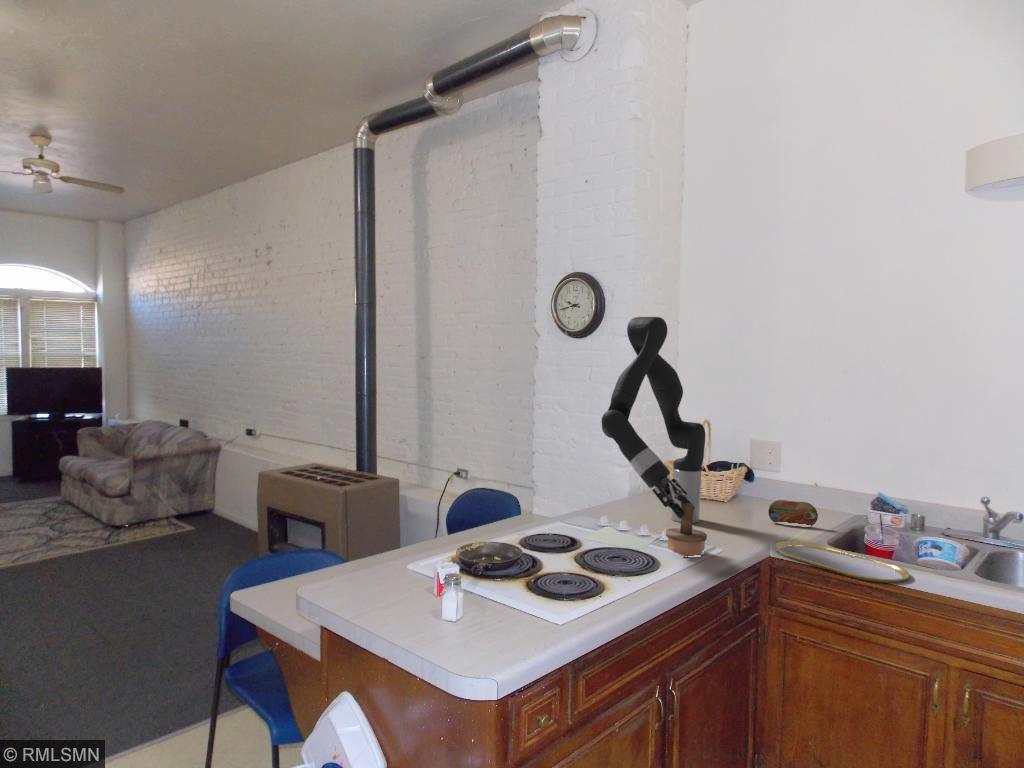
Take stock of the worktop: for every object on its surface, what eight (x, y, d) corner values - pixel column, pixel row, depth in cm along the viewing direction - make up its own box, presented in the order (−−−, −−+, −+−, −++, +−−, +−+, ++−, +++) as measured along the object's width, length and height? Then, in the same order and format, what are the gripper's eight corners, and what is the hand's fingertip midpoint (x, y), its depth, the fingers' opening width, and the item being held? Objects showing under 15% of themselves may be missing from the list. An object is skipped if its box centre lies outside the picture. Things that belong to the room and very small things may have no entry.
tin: (767, 523, 215) (769, 498, 214) (767, 521, 218) (769, 497, 217) (817, 529, 209) (818, 504, 209) (816, 527, 212) (817, 502, 212)
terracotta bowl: (674, 546, 183) (675, 530, 183) (707, 552, 178) (707, 536, 178) (664, 553, 176) (664, 537, 175) (697, 560, 171) (698, 543, 171)
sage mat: (606, 529, 200) (606, 526, 200) (661, 539, 190) (662, 536, 190) (580, 541, 184) (580, 538, 184) (639, 553, 175) (639, 550, 175)
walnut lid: (672, 529, 185) (674, 498, 184) (711, 535, 179) (712, 504, 178) (660, 537, 175) (661, 505, 175) (700, 544, 169) (701, 511, 169)
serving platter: (883, 590, 153) (883, 583, 153) (760, 550, 183) (760, 545, 183) (924, 578, 163) (924, 572, 163) (800, 543, 193) (800, 538, 193)
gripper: (650, 462, 175) (690, 510, 169) (667, 456, 187) (704, 501, 181) (631, 479, 178) (669, 526, 172) (649, 472, 190) (685, 516, 184)
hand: (687, 513), depth 177 cm, fingers open, 8 cm apart
